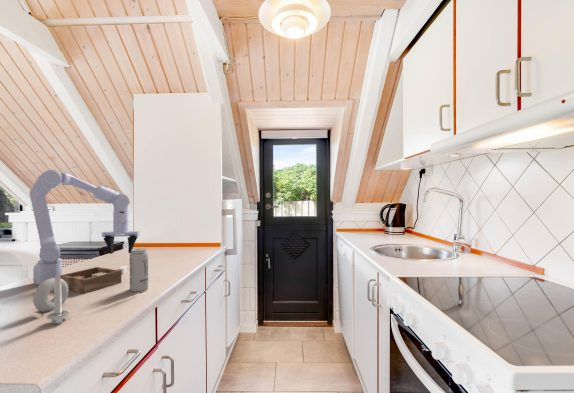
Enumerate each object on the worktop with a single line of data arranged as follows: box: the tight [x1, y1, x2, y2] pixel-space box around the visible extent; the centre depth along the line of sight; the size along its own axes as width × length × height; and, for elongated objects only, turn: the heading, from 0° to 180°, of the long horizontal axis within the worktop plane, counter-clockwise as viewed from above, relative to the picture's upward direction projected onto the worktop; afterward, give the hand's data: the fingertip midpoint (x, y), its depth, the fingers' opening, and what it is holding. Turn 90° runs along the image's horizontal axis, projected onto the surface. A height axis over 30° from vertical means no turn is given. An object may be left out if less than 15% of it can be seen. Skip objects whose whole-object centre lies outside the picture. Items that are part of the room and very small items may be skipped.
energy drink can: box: [129, 247, 149, 294], centre depth 110 cm, size 6×6×15 cm
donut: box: [32, 278, 69, 313], centre depth 91 cm, size 10×4×10 cm, turn 168°
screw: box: [46, 275, 70, 325], centre depth 84 cm, size 13×5×5 cm
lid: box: [117, 265, 128, 275], centre depth 133 cm, size 15×15×4 cm
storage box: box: [60, 266, 122, 294], centre depth 114 cm, size 14×14×6 cm
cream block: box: [92, 272, 107, 277], centre depth 118 cm, size 4×4×4 cm
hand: (121, 253), depth 133 cm, fingers open, 7 cm apart
